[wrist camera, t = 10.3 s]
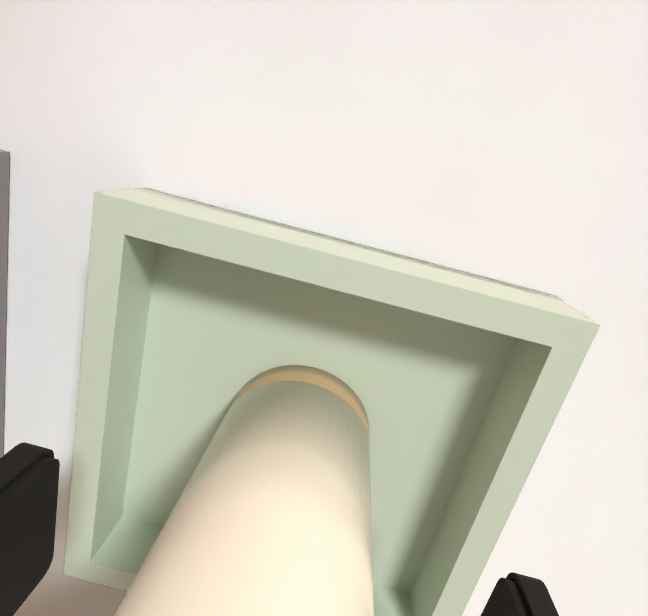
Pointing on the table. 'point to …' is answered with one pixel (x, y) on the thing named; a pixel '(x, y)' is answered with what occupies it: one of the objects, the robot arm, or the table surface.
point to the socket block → (3, 278)
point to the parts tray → (315, 351)
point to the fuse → (271, 510)
